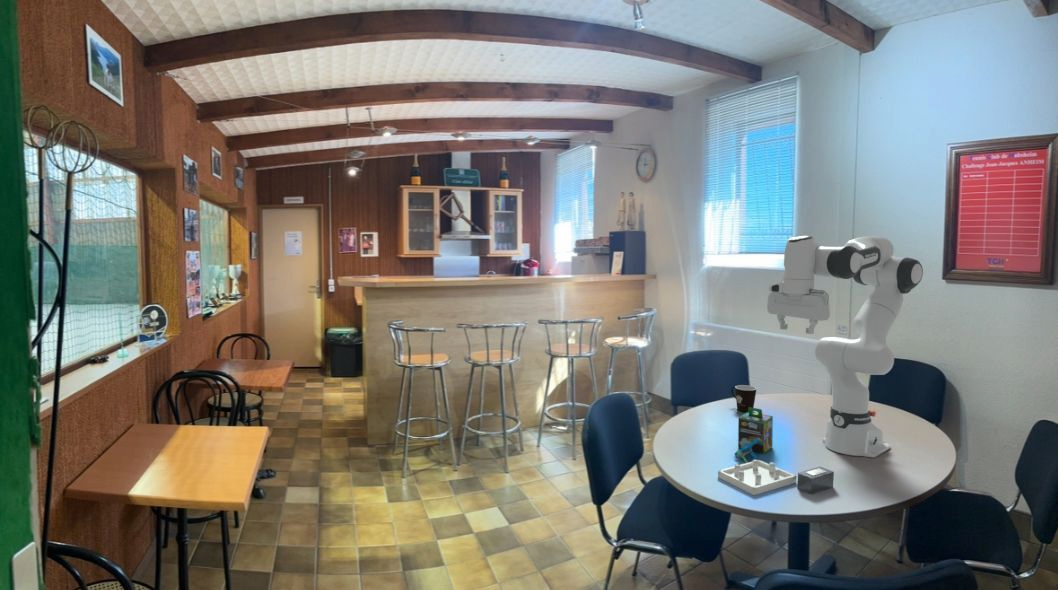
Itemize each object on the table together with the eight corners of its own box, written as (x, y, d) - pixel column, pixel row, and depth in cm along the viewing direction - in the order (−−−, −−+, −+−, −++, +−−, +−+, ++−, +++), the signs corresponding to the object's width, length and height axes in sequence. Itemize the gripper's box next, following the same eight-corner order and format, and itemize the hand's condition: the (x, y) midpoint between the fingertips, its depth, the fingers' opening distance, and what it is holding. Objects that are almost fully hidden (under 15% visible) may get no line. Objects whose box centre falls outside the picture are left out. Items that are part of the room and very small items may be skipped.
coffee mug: (759, 413, 239) (759, 390, 238) (738, 413, 239) (739, 390, 238) (748, 405, 251) (749, 383, 250) (729, 405, 251) (729, 383, 250)
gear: (745, 445, 198) (762, 432, 191) (756, 460, 196) (774, 447, 189) (725, 457, 192) (743, 444, 185) (737, 472, 190) (755, 459, 182)
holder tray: (758, 466, 184) (759, 454, 184) (796, 482, 172) (796, 470, 172) (717, 477, 176) (718, 465, 176) (754, 495, 164) (754, 482, 164)
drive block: (819, 482, 173) (820, 465, 172) (833, 487, 169) (833, 471, 168) (797, 488, 168) (798, 472, 168) (810, 495, 164) (811, 478, 164)
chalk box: (772, 447, 201) (774, 407, 199) (763, 455, 194) (765, 413, 193) (746, 441, 207) (748, 402, 205) (737, 448, 200) (738, 407, 199)
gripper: (835, 290, 170) (833, 335, 171) (778, 285, 188) (776, 326, 189) (821, 291, 167) (819, 337, 168) (764, 285, 185) (763, 327, 186)
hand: (796, 331), depth 179 cm, fingers open, 8 cm apart
